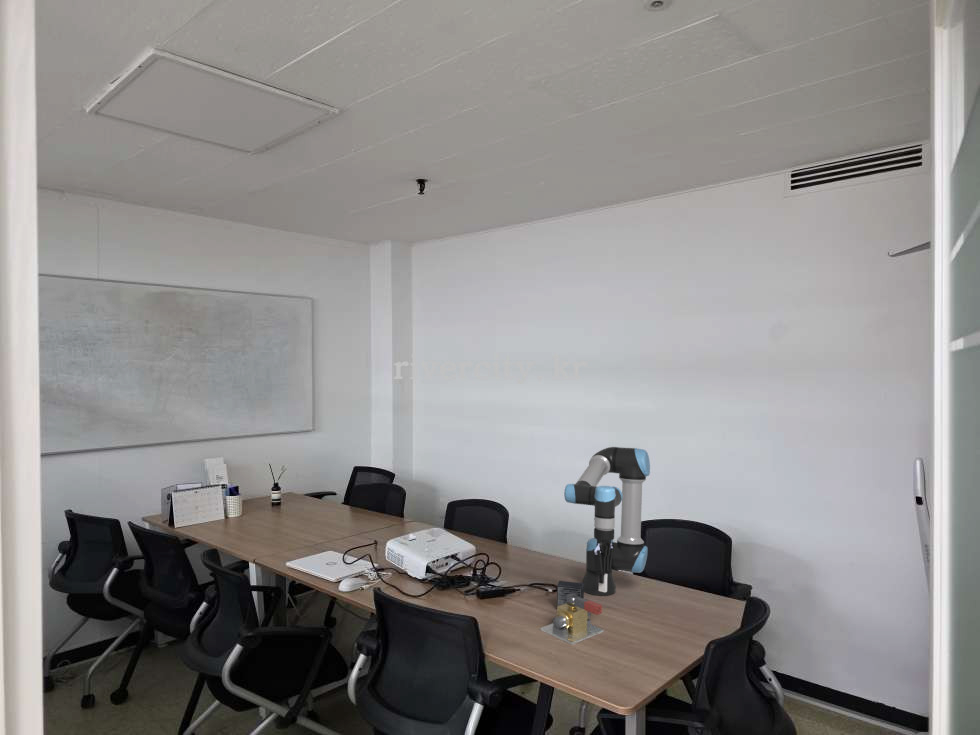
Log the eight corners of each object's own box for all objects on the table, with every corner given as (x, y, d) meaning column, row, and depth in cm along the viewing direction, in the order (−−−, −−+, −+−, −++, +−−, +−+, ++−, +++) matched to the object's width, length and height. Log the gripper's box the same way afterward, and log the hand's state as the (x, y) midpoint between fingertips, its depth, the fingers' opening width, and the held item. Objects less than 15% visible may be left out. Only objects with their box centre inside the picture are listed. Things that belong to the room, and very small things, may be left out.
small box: (584, 607, 261) (584, 582, 261) (582, 613, 255) (582, 587, 255) (558, 604, 264) (559, 579, 264) (556, 610, 258) (556, 584, 258)
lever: (564, 603, 238) (564, 595, 238) (571, 600, 241) (572, 592, 241) (595, 615, 226) (595, 607, 226) (603, 612, 229) (603, 604, 229)
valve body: (571, 618, 249) (572, 593, 249) (603, 631, 237) (604, 605, 237) (540, 630, 238) (540, 603, 238) (571, 644, 225) (572, 617, 225)
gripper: (603, 523, 242) (602, 584, 242) (586, 529, 232) (585, 593, 232) (621, 526, 237) (620, 589, 237) (604, 533, 227) (603, 598, 227)
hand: (602, 591), depth 234 cm, fingers closed
